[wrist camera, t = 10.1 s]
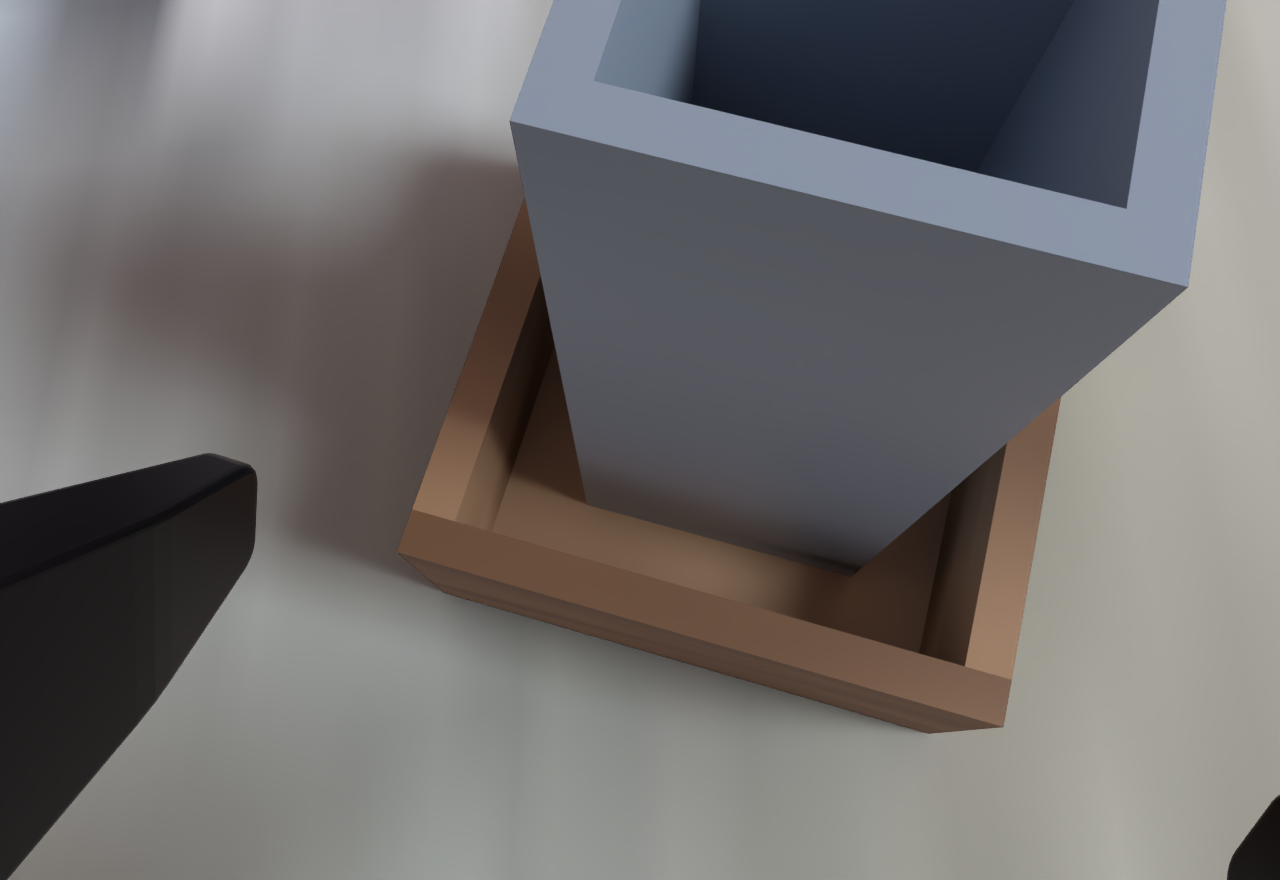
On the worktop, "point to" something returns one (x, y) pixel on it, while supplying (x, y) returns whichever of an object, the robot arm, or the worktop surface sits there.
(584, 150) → the small plastic crate
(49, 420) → the worktop surface
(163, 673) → the robot arm
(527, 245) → the wooden crate
